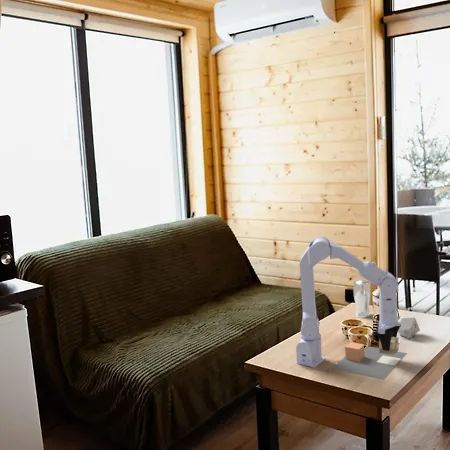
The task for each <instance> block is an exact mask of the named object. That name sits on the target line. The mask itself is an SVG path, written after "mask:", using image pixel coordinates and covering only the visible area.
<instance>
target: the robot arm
mask: <svg viewBox="0 0 450 450" xmlns="http://www.w3.org/2000/svg"><path fill="white" fill-rule="evenodd" d="M328 257H329V260H333V259H334V260H335V259H338V260H341V262H343V263H345V264H347V265H349V266H350V267H353V268H355V269H356V270H357V271H358V274H359V276H360V277H362V278H363V279H364V280H366V281H369V282H370V283H371V284H373V285H374V286H378V288H379V295H378V296H379V298H378V300H379V302H378V303H379V311H378V312H379V320H378V328H376V330H375V333H376V335H377V337H378V339H379V340H380V342H381V345H382V349H383V350H386V351H389V349H390V343H391V338H392V337H397V336H398V334H399V332H398V330H399V328H400V327H401V323H400V322H398V320H399V315H398V296H397V293H398V292H397V291H398V288H399V285H398V282H397V279H396V277H395V276H394V275H393V274H392V273H391V272H389V271H388V270H384V269H382V268H381V267H379V266H378V265H377V263H376V262H374V261H372V262H371V261H369V260H367V261H363V260H362V259H360V258H358V257H357V256H356V255H354V254H353V253H351V252H350V251H348V250H347V249H346V248H344V247H342V246H341V245H340V244H338V243H336V242H334V240H330V239H328V238H327V237H326V236H317V237H316V238H314V239H313V240H311V241H310V242H309V244H308V246H307V248H306V249H305V250H304V253H303V254H302V256H301V257H300V260H299V275H300V290H301V307H302V320H301V328H300V336H299V337H300V338H299V339H300V340H299V342H298V343H297V345H296V347H295V350H296V361H294V364H295V365H296V364H297V365H303V366H306V367H312V368H317V366H318V365H319V364H321V363H322V362H323V361H325V360H326V359H327V356H323V355H322V334H321V333H320V325H321V324H320V318H318V316H317V307H316V294H315V293H316V292H315V291H316V290H315V278H314V277H315V276H314V267H315V266H316V265H317V264H318V263H319V262H321V261H324V260H326V259H328Z"/></svg>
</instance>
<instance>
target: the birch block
mask: <svg viewBox="0 0 450 450" xmlns="http://www.w3.org/2000/svg"><path fill="white" fill-rule="evenodd" d="M399 342H400V341H399V337H392V338H391V343H390V349H389V351H386V350H383V349H382V345H381V342H380V339H379V340H378V345H379V347H378V348H379V353H384V354H390V355H395V353H396V352H399V349H400V348H399V347H400V346H399Z"/></svg>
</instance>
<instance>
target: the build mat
mask: <svg viewBox="0 0 450 450" xmlns="http://www.w3.org/2000/svg"><path fill="white" fill-rule="evenodd" d="M364 350H365V357H364V358H363V359H362V360H361V361H360V362H358V361H353V360H347V359H346V355H345V356H344V357H343V358H342V359H341V360H340V361H338V362H337V363H336V364H335V365H334V366H333V367H332V368H331V369H332V370H336V371H340V372H346V373H350V374H354V375H360V376H364V377H365V376H366V377H370V378H375V379H379V380H383V381H384V380H385V379H386V378H387V377H388V375H390V373H392V371H393V370H394V369H395V368H396V366H397V365H398V364H400V362H401V361H402V360H403V358H404V357H405V356H406V355H407V354H408V353H407V352H403V351H402V352H401V351H397V352H396V353H395V355H390V354H384V353H379V347H373V346H369V347H365V348H364Z"/></svg>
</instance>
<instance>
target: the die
mask: <svg viewBox="0 0 450 450" xmlns="http://www.w3.org/2000/svg"><path fill="white" fill-rule="evenodd" d="M398 322H400V323H401V327H400V328H399V330H398V334H399V335H400V336H402V337H404V338H408V339H411V338H412V337H414V336H415V335H416V334H417V333H418V332H419V331H421V329H420V327H419V323H418V321H417V319H416V317H415V316H412V315H408V314H403V315H402V316H401V317H400V318H398Z"/></svg>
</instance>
